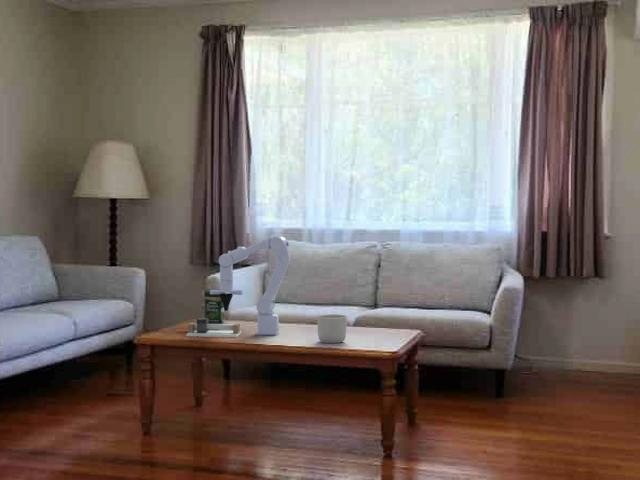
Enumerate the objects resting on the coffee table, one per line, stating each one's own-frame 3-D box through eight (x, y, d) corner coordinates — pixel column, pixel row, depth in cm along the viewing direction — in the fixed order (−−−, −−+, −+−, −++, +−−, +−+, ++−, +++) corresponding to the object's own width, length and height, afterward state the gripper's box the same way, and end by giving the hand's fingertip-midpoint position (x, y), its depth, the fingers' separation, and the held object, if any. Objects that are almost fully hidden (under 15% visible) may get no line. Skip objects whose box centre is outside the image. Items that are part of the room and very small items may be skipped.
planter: (316, 339, 341) (316, 314, 341) (344, 339, 342) (345, 314, 341) (318, 344, 329) (318, 318, 328) (348, 344, 329) (348, 318, 329)
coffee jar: (201, 329, 369) (201, 289, 369) (208, 326, 377) (208, 287, 376) (220, 330, 367) (220, 289, 366) (227, 327, 374) (227, 288, 374)
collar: (208, 330, 355) (208, 318, 355) (205, 332, 350) (205, 319, 350) (199, 330, 356) (199, 317, 355) (196, 332, 350) (196, 319, 350)
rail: (241, 333, 358) (241, 322, 357) (236, 337, 346) (236, 326, 345) (192, 332, 359) (192, 321, 359) (186, 336, 347) (186, 325, 347)
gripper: (243, 279, 362) (243, 309, 363) (212, 279, 363) (212, 309, 364) (241, 281, 355) (241, 311, 356) (209, 280, 356) (208, 311, 357)
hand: (226, 310), depth 359 cm, fingers closed
